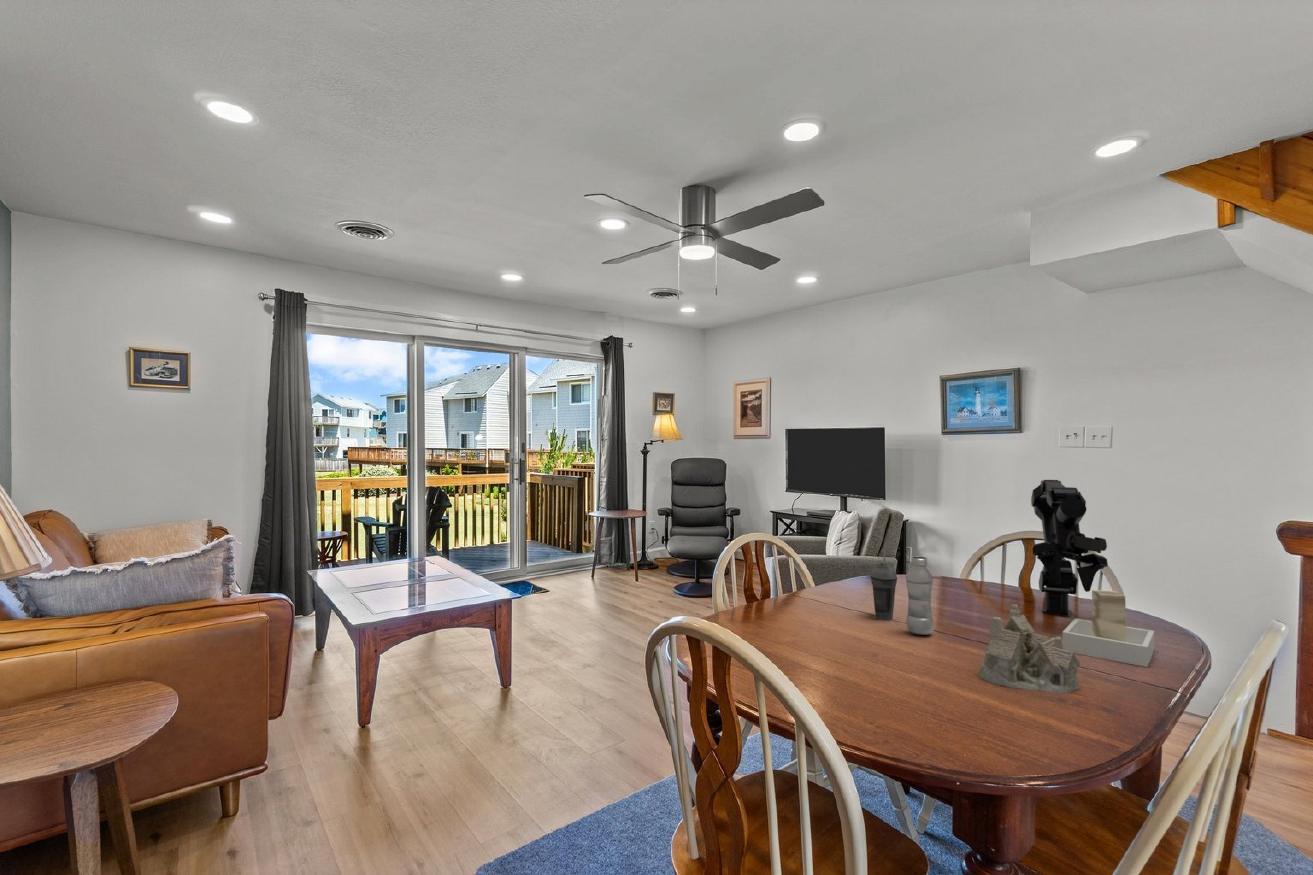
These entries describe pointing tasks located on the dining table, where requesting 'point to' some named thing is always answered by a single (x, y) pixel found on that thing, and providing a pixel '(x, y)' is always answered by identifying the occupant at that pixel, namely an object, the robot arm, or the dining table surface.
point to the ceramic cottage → (1027, 658)
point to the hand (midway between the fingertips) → (1072, 587)
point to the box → (1109, 644)
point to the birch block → (1108, 615)
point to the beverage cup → (883, 590)
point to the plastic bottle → (919, 597)
